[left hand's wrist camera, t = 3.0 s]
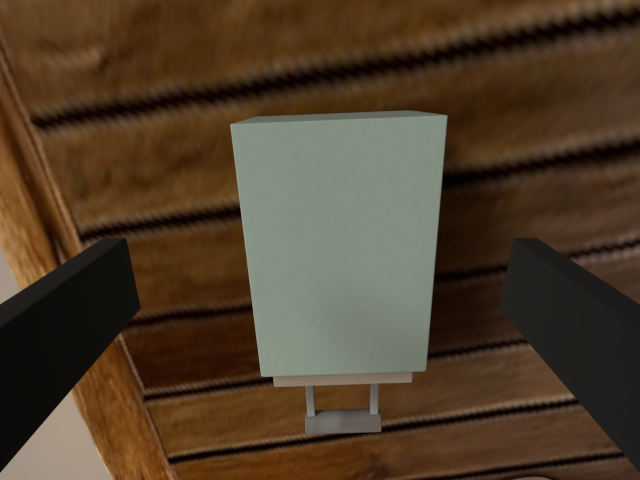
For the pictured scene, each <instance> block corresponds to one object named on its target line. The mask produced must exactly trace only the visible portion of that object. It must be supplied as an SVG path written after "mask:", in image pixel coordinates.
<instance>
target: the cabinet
mask: <svg viewBox="0 0 640 480" xmlns="http://www.w3.org/2000/svg"><path fill="white" fill-rule="evenodd" d="M446 129H447V115H441V114H434V113H426V112H418V111H409V110H408V111H383V112H359V113H335V114H310V115H286V116H261V117H254V118H251V119H247V120H244V121H240V122H237V123H233V124H231V134H232V142H233V150H234V158H235V166H236V174H237V182H238V191H239V199H240V207H241V215H242V223H243V231H244V239H245V248H246V256H247V264H248V272H249V280H250V288H251V296H252V305H253V313H254V321H255V329H256V337H257V345H258V353H259V362H260V370H261V376H262V377H267V376H297V375H327V374H357V373H388V372H418V371H426V365H427V353H428V341H429V329H430V318H431V306H432V294H433V282H434V271H435V259H436V247H437V235H438V223H439V212H440V200H441V188H442V176H443V164H444V153H445V141H446Z"/></svg>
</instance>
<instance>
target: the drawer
mask: <svg viewBox="0 0 640 480" xmlns="http://www.w3.org/2000/svg"><path fill="white" fill-rule="evenodd" d="M412 374H413V372H388V373H357V374H327V375H297V376H273V380H274V387H285V386H306V400H307V411H306V412H305V431H306V434H329V433H361V432H381V415H380V410H379V409H378V397H379V383H407V382H412ZM346 384H370V409H340V410H315V397H314V386H316V385H346Z"/></svg>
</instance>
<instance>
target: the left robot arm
mask: <svg viewBox="0 0 640 480" xmlns="http://www.w3.org/2000/svg"><path fill="white" fill-rule="evenodd" d="M140 309H141V307H140V302H139V298H138V293H137V288H136V283H135V278H134V274H133V269H132V264H131V259H130V255H129V250H128V245H127V240H126V238H103V239H101V240H100V241H98V242H97V243H95V244H93V245H92V246H90V247H89V248H87V249H86V250H84V251H83V252H81V253H79V254H78V255H76V256H75V257H73V258H72V259H70V260H69V261H67V262H65V263H64V264H62V265H61V266H59V267H58V268H56V269H55V270H53V271H52V272H50V273H48V274H47V275H45V276H44V277H42V278H41V279H39V280H38V281H36V282H34V283H33V284H31V285H30V286H28V287H27V288H25V289H24V290H22V291H20V292H19V293H17V294H16V295H14V296H13V297H11V298H10V299H8V300H6V301H5V302H3V303H2V304H0V472H1V471H2V470H3V469H4V468H5V467H6V465H7V464H8V463H9V462H10V461H11V460H12V458H13V457H14V456H15V455H16V454H17V453H18V451H19V450H20V449H21V448H22V447H23V445H24V444H25V443H26V442H27V441H28V440H29V438H30V437H31V436H32V435H33V434H34V433H35V431H36V430H37V429H38V428H39V427H40V426H41V424H42V423H43V422H44V421H45V420H46V419H47V417H48V416H49V415H50V414H51V413H52V412H53V410H54V409H55V408H56V407H57V406H58V405H59V403H60V402H61V401H62V400H63V399H64V398H65V396H66V395H67V394H68V393H69V392H70V391H71V389H72V388H73V387H74V386H75V385H76V384H77V382H78V381H79V380H80V379H81V378H82V377H83V375H84V374H85V373H86V372H87V371H88V369H89V368H90V367H91V366H92V365H93V364H94V362H95V361H96V360H97V359H98V358H99V357H100V355H101V354H102V353H103V352H104V351H105V350H106V348H107V347H108V346H109V345H110V344H111V343H112V341H113V340H114V339H115V338H116V337H117V336H118V334H119V333H120V332H121V331H122V330H123V329H124V327H125V326H126V325H127V324H128V323H129V322H130V320H131V319H132V318H133V317H134V316H135V315H136V313H137V312H138V311H139V310H140ZM499 309H500V310H501V311H502V312H503V313H504V315H505V316H506V317H507V318H508V319H509V320H510V322H511V323H512V324H513V325H514V326H515V327H516V329H517V330H518V331H519V332H520V333H521V334H522V336H523V337H524V338H525V339H526V340H527V341H528V343H529V344H530V345H531V346H532V347H533V348H534V350H535V351H536V352H537V353H538V354H539V355H540V357H541V358H542V359H543V360H544V361H545V362H546V364H547V365H548V366H549V367H550V368H551V369H552V371H553V372H554V373H555V374H556V375H557V377H558V378H559V379H560V380H561V381H562V382H563V384H564V385H565V386H566V387H567V388H568V389H569V391H570V392H571V393H572V394H573V395H574V396H575V398H576V399H577V400H578V401H579V402H580V403H581V405H582V406H583V407H584V408H585V409H586V410H587V412H588V413H589V414H590V415H591V416H592V417H593V419H594V420H595V421H596V422H597V423H598V424H599V426H600V427H601V428H602V429H603V430H604V431H605V433H606V434H607V435H608V436H609V437H610V438H611V440H612V441H613V442H614V443H615V444H616V445H617V447H618V448H619V449H620V450H621V451H622V453H623V454H624V455H625V456H626V457H627V458H628V460H629V461H630V462H631V463H632V464H633V465H634V467H635V468H636V469H637V470H638V471H639V472H640V304H638V303H637V302H635V301H634V300H632V299H630V298H629V297H627V296H626V295H624V294H623V293H621V292H620V291H618V290H616V289H615V288H613V287H612V286H610V285H609V284H607V283H606V282H604V281H602V280H601V279H599V278H598V277H596V276H595V275H593V274H592V273H590V272H588V271H587V270H585V269H584V268H582V267H581V266H579V265H578V264H576V263H575V262H573V261H571V260H570V259H568V258H567V257H565V256H564V255H562V254H561V253H559V252H557V251H556V250H554V249H553V248H551V247H550V246H548V245H547V244H545V243H543V242H542V241H540V240H539V239H537V238H514V240H513V245H512V250H511V254H510V259H509V264H508V269H507V274H506V278H505V283H504V288H503V293H502V298H501V302H500V307H499Z"/></svg>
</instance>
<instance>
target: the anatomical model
mask: <svg viewBox="0 0 640 480" xmlns="http://www.w3.org/2000/svg"><path fill="white" fill-rule="evenodd" d="M512 480H551V479H548V478H544V477H523V478H517V479H512Z"/></svg>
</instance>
